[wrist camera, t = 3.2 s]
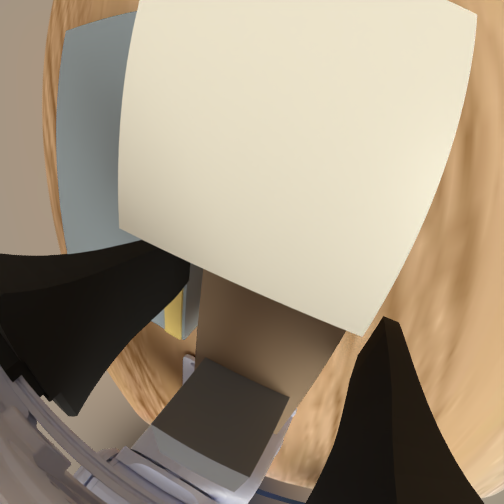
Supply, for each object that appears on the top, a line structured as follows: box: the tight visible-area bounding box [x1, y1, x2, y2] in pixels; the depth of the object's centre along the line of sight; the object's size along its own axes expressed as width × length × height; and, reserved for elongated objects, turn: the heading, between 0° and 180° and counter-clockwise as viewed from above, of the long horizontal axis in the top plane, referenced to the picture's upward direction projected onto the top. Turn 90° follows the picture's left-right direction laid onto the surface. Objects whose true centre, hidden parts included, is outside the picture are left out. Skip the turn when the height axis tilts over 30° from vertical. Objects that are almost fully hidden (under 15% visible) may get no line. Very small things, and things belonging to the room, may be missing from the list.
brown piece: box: [194, 269, 346, 435], centre depth 11 cm, size 5×16×5 cm, turn 169°
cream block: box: [118, 0, 477, 337], centre depth 4 cm, size 4×4×4 cm
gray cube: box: [151, 357, 290, 492], centre depth 11 cm, size 4×4×4 cm
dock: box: [56, 11, 203, 340], centre depth 15 cm, size 12×18×2 cm, turn 169°
